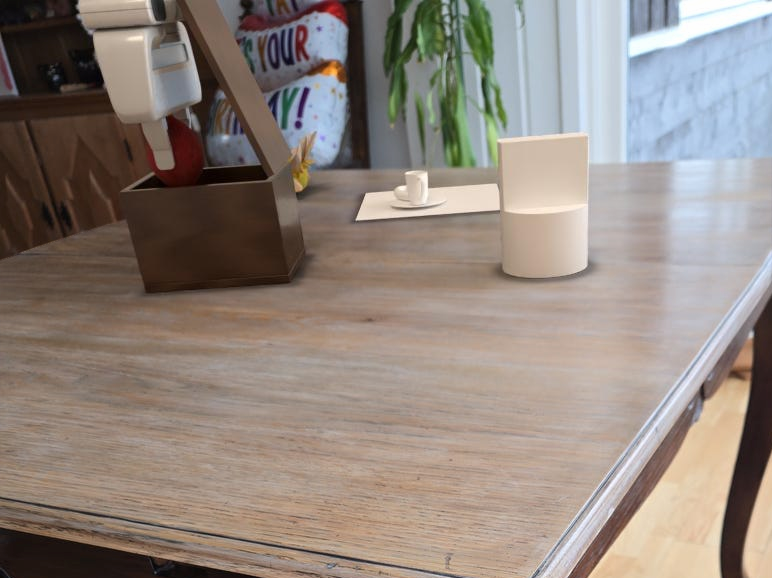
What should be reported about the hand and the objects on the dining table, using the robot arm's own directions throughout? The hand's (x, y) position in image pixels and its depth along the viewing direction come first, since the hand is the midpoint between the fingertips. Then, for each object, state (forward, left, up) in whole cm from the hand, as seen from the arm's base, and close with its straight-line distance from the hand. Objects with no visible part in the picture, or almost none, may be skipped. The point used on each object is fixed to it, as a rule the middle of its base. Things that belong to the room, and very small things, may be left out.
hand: (177, 163), depth 94 cm
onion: (0, 0, -3) cm, 3 cm away
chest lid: (+8, 0, +7) cm, 10 cm away
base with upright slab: (+38, -7, -11) cm, 40 cm away
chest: (+3, 0, -11) cm, 12 cm away
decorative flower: (+2, +49, -11) cm, 50 cm away
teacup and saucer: (+25, +34, -11) cm, 44 cm away
